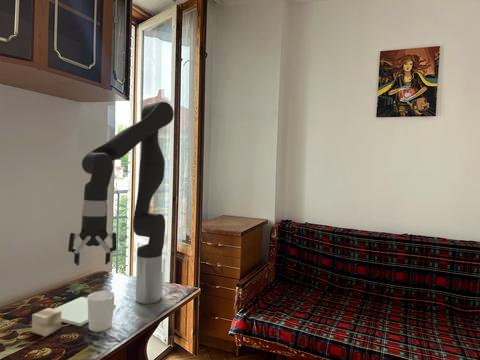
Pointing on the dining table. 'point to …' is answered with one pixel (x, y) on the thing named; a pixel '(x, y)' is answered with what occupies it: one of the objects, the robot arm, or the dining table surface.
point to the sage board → (75, 311)
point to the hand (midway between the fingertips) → (92, 264)
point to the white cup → (100, 310)
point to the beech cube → (46, 321)
